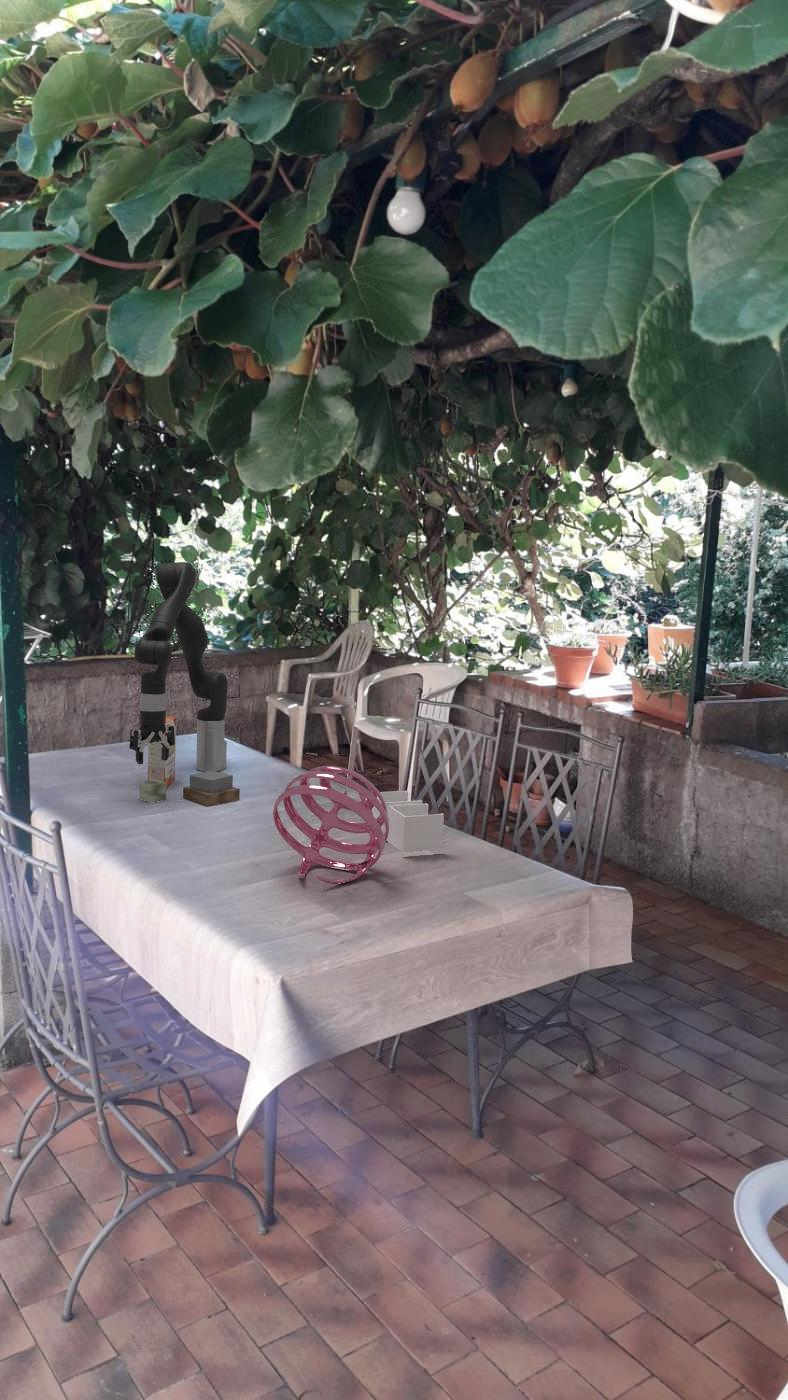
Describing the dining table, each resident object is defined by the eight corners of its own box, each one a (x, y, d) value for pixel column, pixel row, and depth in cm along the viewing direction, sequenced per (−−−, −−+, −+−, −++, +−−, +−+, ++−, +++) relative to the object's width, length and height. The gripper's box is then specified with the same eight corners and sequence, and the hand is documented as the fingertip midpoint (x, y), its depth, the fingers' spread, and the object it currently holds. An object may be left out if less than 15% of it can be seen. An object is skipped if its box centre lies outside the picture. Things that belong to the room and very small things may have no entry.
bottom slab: (215, 794, 323) (215, 781, 322) (239, 801, 315) (239, 789, 314) (183, 800, 314) (183, 787, 313) (207, 808, 306) (207, 795, 305)
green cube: (155, 797, 314) (155, 779, 314) (165, 800, 311) (166, 782, 310) (139, 799, 310) (139, 782, 310) (150, 803, 307) (150, 785, 306)
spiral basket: (327, 824, 223) (372, 737, 241) (230, 831, 238) (279, 748, 256) (385, 907, 237) (423, 819, 255) (290, 909, 252) (332, 826, 270)
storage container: (368, 831, 288) (369, 792, 287) (404, 828, 293) (406, 790, 291) (402, 858, 266) (404, 816, 264) (441, 855, 270) (443, 814, 268)
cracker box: (166, 790, 322) (166, 724, 319) (146, 789, 323) (147, 723, 319) (176, 779, 336) (177, 716, 333) (157, 778, 336) (158, 715, 333)
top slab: (210, 783, 320) (211, 770, 319) (232, 788, 315) (232, 775, 314) (189, 788, 312) (189, 775, 312) (211, 793, 307) (211, 780, 307)
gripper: (165, 704, 314) (165, 757, 316) (124, 708, 304) (124, 762, 306) (180, 707, 309) (179, 761, 311) (139, 712, 299) (138, 767, 301)
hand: (152, 762), depth 309 cm, fingers open, 8 cm apart
